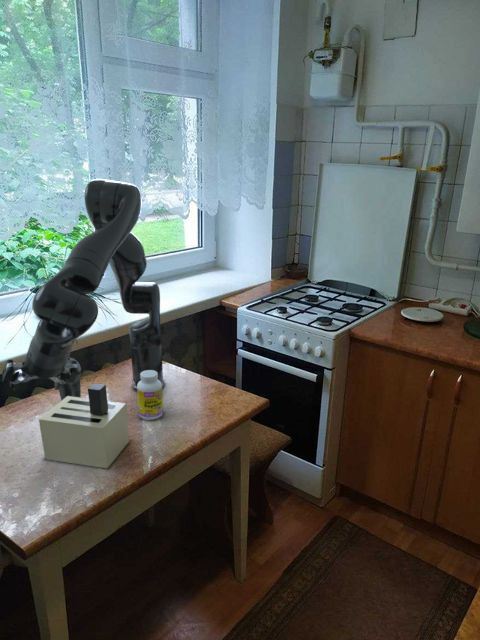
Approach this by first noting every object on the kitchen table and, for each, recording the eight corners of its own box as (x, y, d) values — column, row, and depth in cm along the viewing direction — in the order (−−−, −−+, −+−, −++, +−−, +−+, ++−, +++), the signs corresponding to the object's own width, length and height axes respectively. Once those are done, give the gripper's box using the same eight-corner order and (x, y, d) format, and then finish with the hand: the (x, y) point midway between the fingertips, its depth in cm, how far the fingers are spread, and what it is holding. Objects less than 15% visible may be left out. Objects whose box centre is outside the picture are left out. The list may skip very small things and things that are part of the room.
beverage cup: (90, 403, 144) (82, 339, 137) (79, 415, 138) (70, 349, 130) (66, 401, 145) (57, 337, 137) (53, 413, 138) (44, 347, 131)
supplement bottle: (142, 422, 135) (139, 380, 130) (136, 411, 140) (133, 370, 136) (166, 417, 138) (164, 376, 133) (159, 407, 143) (157, 366, 139)
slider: (96, 408, 119) (94, 383, 116) (108, 410, 119) (105, 384, 116) (90, 414, 116) (87, 388, 114) (102, 416, 116) (99, 390, 113)
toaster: (72, 433, 129) (67, 395, 125) (129, 441, 126) (126, 402, 122) (44, 459, 118) (38, 418, 114) (107, 468, 116) (102, 427, 111)
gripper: (84, 337, 104) (68, 371, 116) (8, 334, 96) (-1, 371, 108) (87, 369, 101) (70, 401, 113) (9, 368, 93) (0, 402, 105)
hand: (35, 386), depth 110 cm, fingers open, 8 cm apart
